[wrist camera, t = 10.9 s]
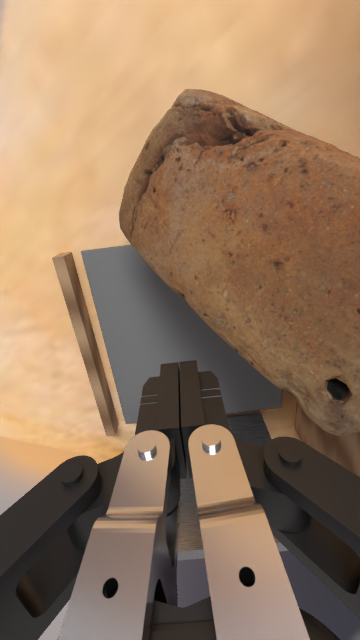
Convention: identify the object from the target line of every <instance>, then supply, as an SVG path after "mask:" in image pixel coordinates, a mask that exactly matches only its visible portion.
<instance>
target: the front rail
mask: <svg viewBox="0 0 360 640" xmlns="http://www.w3.org/2000/svg"><path fill="white" fill-rule="evenodd" d="M52 259H53V262H54V266H55V269H56V272H57V275H58V279H59V282H60V285H61V288H62V292H63V295H64V298H65V302H66V305H67V308H68V311H69V315H70V318H71V321H72V324H73V328H74V331H75V334H76V337H77V341H78V344H79V347H80V351H81V354H82V357H83V360H84V364H85V367H86V370H87V373H88V377H89V380H90V383H91V386H92V390H93V393H94V396H95V400H96V403H97V406H98V409H99V413H100V416H101V419H102V422H103V426H104V429H105V432H106V435H107V436H114V435H115V434H116V430H117V426H118V420H117V416H116V413H115V409H114V405H113V402H112V398H111V394H110V391H109V387H108V384H107V380H106V376H105V373H104V369H103V365H102V362H101V358H100V354H99V351H98V347H97V344H96V340H95V336H94V333H93V329H92V325H91V322H90V318H89V315H88V311H87V307H86V304H85V300H84V296H83V293H82V289H81V285H80V282H79V278H78V275H77V271H76V267H75V264H74V260H73V256H72V253H71V252H69V253H61V254H59V255H57V256H55V257H53V258H52Z"/></svg>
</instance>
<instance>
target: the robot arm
mask: <svg viewBox="0 0 360 640" xmlns="http://www.w3.org/2000/svg"><path fill="white" fill-rule="evenodd" d="M179 365H180V370H179ZM186 461H187V464H186ZM187 468H188V474H189V478H193V481H194V487H195V495H196V502H197V509H198V516H199V522H200V529H201V536H202V543H203V550H204V557H205V563H206V570H207V577H208V584H209V591H210V597H208V598H206V599H204V600H201V601H199V602H197V603H195V604H193V605H190V606H188V607H185V608H180V607H178V592H177V559H178V540H179V522H180V479H187ZM273 536H274V537H275V538H276V539H277V540H278V541H279V542H280V543H281V544H282V545H283V546H284V547H285V548H287V549H288V550H289V551H290V552H291V553H292V554H293V555H294V556H295V557H296V558H297V559H298V560H299V561H300V562H301V563H302V564H303V565H304V566H305V567H306V568H308V569H309V570H310V571H311V572H312V573H313V574H314V575H315V576H316V577H317V578H318V579H319V580H320V581H321V582H322V583H323V584H324V585H325V586H326V587H327V588H329V589H330V590H331V591H332V592H333V593H334V594H335V595H336V596H337V597H338V598H339V599H340V600H341V601H342V602H343V603H344V604H345V605H346V606H347V607H348V608H349V609H351V610H352V611H353V612H354V613H355V614H356V615H357V616H358V617H359V618H360V477H359V476H358V475H356V474H354V473H353V472H351V471H349V470H348V469H346V468H344V467H343V466H341V465H340V464H338V463H336V462H335V461H333V460H331V459H330V458H328V457H327V456H325V455H323V454H322V453H320V452H318V451H317V450H315V449H313V448H312V447H310V446H309V445H307V444H305V443H304V442H302V441H300V440H298V439H295V438H291V437H278V438H274V439H272V440H271V441H269V442H268V443H267V445H266V446H265V447H264V446H259V445H253V444H249V443H246V442H244V441H242V440H240V439H238V438H237V437H236V436H235V435H234V434H233V433H232V432H231V430H230V428H229V425H228V421H227V417H226V412H225V408H224V404H223V399H222V396H221V391H220V386H219V382H218V378H217V377H216V376H215V375H214V374H213V373H212V372H211V371H204V372H198V367H197V360H193V361H183V362H179V363H178V362H175V363H166V364H161V367H160V376H158V377H149V379H148V380H147V381H146V383H145V384H144V385H143V389H142V397H141V402H140V408H139V414H138V420H137V426H136V432H135V436H134V437H133V438H132V439H131V440H130V441H129V442H128V443H127V445H126V447H125V450H124V452H123V453H121V454H120V455H118V456H116V457H114V458H112V459H109V460H107V461H104V462H102V463H99V464H97V463H96V461H95V460H94V459H93V458H91V457H89V456H76V457H73V458H71V459H68V460H66V461H65V462H63V463H62V464H61V465H59V466H58V467H57V468H56V469H55V470H54V471H52V472H51V473H50V474H49V475H47V476H46V477H45V478H44V479H43V480H42V481H40V482H39V483H38V484H37V485H36V486H34V487H33V488H32V489H31V490H30V491H29V492H27V493H26V494H25V495H24V496H23V497H21V498H20V499H19V500H18V501H17V502H16V503H14V504H13V505H12V506H11V507H10V508H8V509H7V510H6V511H5V512H4V513H3V514H1V515H0V640H38V639H39V637H40V636H41V635H42V633H43V632H44V631H45V630H46V629H47V627H48V626H49V625H50V624H51V622H52V621H53V620H54V618H55V617H56V616H57V615H58V613H59V612H60V611H61V610H62V608H63V607H64V606H65V605H66V603H67V602H68V601H69V600H70V601H69V604H68V608H67V611H66V614H65V617H64V620H63V624H62V627H61V630H60V633H59V636H58V639H57V640H340V639H339V638H338V637H337V636H336V635H335V634H334V633H333V632H331V631H330V630H329V629H328V628H327V627H326V626H325V625H324V624H322V623H321V622H320V621H319V620H317V619H316V618H314V617H313V616H312V615H310V614H309V613H307V612H305V611H303V610H302V609H300V608H299V607H298V604H297V602H296V599H295V596H294V593H293V590H292V588H291V585H290V582H289V579H288V577H287V574H286V571H285V568H284V565H283V562H282V560H281V557H280V554H279V551H278V548H277V545H276V543H275V540H274V537H273Z"/></svg>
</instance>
